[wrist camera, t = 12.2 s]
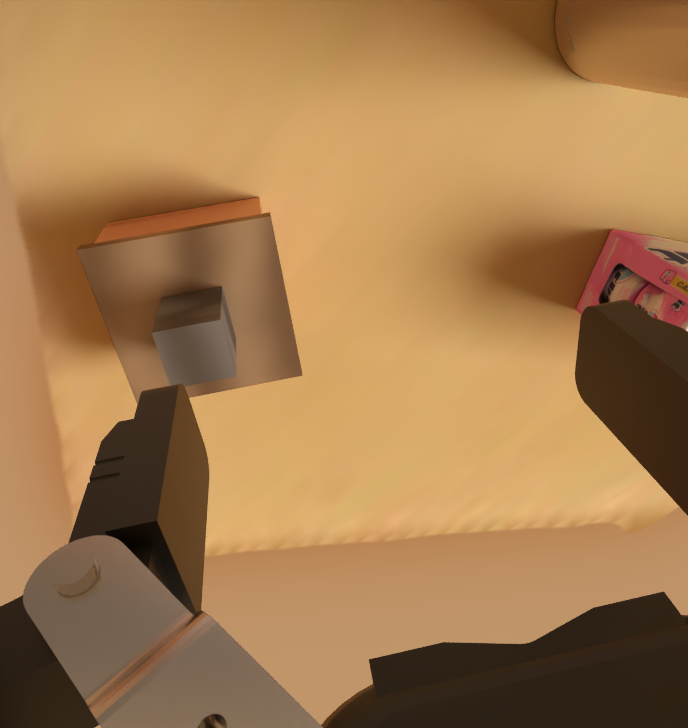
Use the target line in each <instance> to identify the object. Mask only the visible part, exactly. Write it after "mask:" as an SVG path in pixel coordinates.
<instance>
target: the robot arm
mask: <svg viewBox="0 0 688 728" xmlns="http://www.w3.org/2000/svg"><path fill="white" fill-rule="evenodd" d="M555 34H556V39H557V43H558V48H559V50H560V52H561V55H562V57H563V59H564V61H565V62H566V63H567V65H568V66H569V67H570V68H571V70H572V71H573V72H575V73H576V74H578V75H579V76H580V77H582V78H584V79H587V80H590V81H592V82H597V83H603V84H609V85H615V86H621V87H625V88H631V89H637V90H643V91H649V92H655V93H661V94H667V95H672V96H678V97H684V98H688V0H557V7H556V14H555ZM575 379H576V385H577V389H578V391H579V394H580V396H581V398H582V399H583V401H584V402H585V403H586V404H587V406H588V407H589V408H590V409H591V410H592V411H593V412H594V413H595V414H596V415H597V416H598V418H599V419H600V420H601V421H602V422H603V423H604V424H605V425H606V426H607V427H608V429H609V430H610V431H611V432H612V433H613V434H614V435H615V436H616V437H617V438H618V440H619V441H620V442H621V443H622V444H623V445H624V446H625V447H626V448H627V449H628V450H629V452H630V453H631V454H632V455H633V456H634V457H635V458H636V459H637V460H638V461H639V463H640V464H641V465H642V466H643V467H644V468H645V469H646V470H647V471H648V472H649V474H650V475H651V476H652V477H653V478H654V479H655V480H656V481H657V482H658V483H659V484H660V486H661V487H662V488H663V489H664V490H665V491H666V492H667V493H668V494H669V495H670V497H671V498H672V499H673V500H674V501H675V502H676V503H677V504H678V505H679V506H680V508H681V509H682V510H683V511H684V512H685V513H686V514H687V515H688V331H686V330H685V329H683V328H681V327H678V326H676V325H673V324H670V323H667V322H665V321H662V320H659V319H656V318H653V317H651V316H650V315H648V314H647V313H646V312H644V311H643V310H641V309H640V308H639V307H637V306H636V305H634V304H633V303H632V302H630V301H628V300H619V301H614V302H609V303H603V304H598V305H593V306H588V307H586V308H585V309H584V311H583V313H582V316H581V321H580V331H579V340H578V350H577V359H576V369H575ZM95 464H96V465H95V466H93V469H92V472H91V475H90V478H89V479H90V483H88V485H87V488H86V491H85V494H84V497H83V500H82V503H81V506H80V509H79V512H78V516H77V519H76V522H75V525H74V528H73V531H72V534H71V537H70V540H69V543H68V544H66V545H64V546H63V547H61V548H59V549H58V550H56V551H55V552H53V553H52V554H51V555H49V556H48V557H47V558H46V559H45V560H44V561H43V562H42V563H41V564H40V565H39V566H38V567H37V568H36V569H35V571H34V572H33V573H32V575H31V576H30V578H29V580H28V582H27V584H26V586H25V589H24V594H23V595H22V596H21V597H19V598H17V599H15V600H13V601H11V602H9V603H7V604H5V605H3V606H0V728H94V727H96V726H98V725H100V726H101V728H688V615H681V614H680V613H679V611H678V610H677V609H676V607H675V606H674V605H673V604H672V602H671V601H670V599H669V598H668V597H667V596H666V594H665V593H664V592H660V593H656V594H651V595H647V596H643V597H639V598H634V599H630V600H626V601H621V602H617V603H613V604H608V605H604V606H599V607H595V608H593V609H591V610H589V611H587V612H585V613H583V614H582V615H580V616H578V617H576V618H574V619H573V620H571V621H569V622H567V623H565V624H564V625H562V626H560V627H558V628H556V629H555V630H553V631H551V632H549V633H548V634H546V635H544V636H542V637H540V638H539V639H537V640H535V641H533V642H531V643H526V644H491V643H490V644H489V643H446V642H443V643H439V644H435V645H430V646H426V647H422V648H417V649H413V650H408V651H404V652H400V653H396V654H391V655H387V656H382V657H378V658H374V659H369V663H370V668H371V674H372V679H373V684H372V685H370V686H368V687H367V688H365V689H363V690H362V691H360V692H358V693H356V694H355V695H354V696H352V697H351V698H350V699H348V700H347V701H345V702H344V703H343V704H342V705H341V706H339V707H338V708H337V709H336V710H335V711H334V712H333V713H332V714H331V715H330V716H329V717H328V718H327V719H326V720H325V721H324V723H323V724H322V725H320V724H319V723H318V722H317V721H316V720H315V719H314V718H313V717H312V716H311V715H310V714H309V713H308V712H307V711H306V710H305V709H304V708H303V707H302V706H301V705H300V704H299V703H298V702H297V701H296V700H295V699H294V698H293V697H292V696H291V695H290V694H289V693H288V692H287V691H286V690H285V689H284V688H283V687H282V686H281V685H279V684H278V682H277V681H276V680H274V678H273V677H272V676H271V675H270V674H269V673H268V672H267V671H266V670H264V668H263V667H261V665H259V663H258V662H256V661H255V659H253V658H252V656H251V655H250V654H249V653H248V652H246V651H245V650H244V649H243V648H242V647H241V646H240V645H239V644H238V643H237V642H236V641H235V640H234V639H233V638H232V637H231V636H230V635H229V634H228V633H227V632H226V631H225V630H224V629H223V628H222V627H221V626H220V625H219V624H218V623H217V622H216V621H215V620H214V619H213V618H212V617H211V616H210V615H208V614H207V613H205V612H203V611H201V602H202V585H203V569H204V553H205V537H206V521H207V505H208V489H209V465H208V458H207V453H206V449H205V445H204V442H203V439H202V436H201V433H200V430H199V427H198V424H197V421H196V418H195V415H194V412H193V409H192V406H191V403H190V400H189V397H188V394H187V391H186V389H185V387H184V386H183V384H176V385H171V386H165V387H160V388H155V389H150V390H145V391H142V392H141V394H140V398H139V402H138V405H137V409H136V413H135V417H134V419H131V420H126V421H121V422H118V423H117V424H116V425H115V426H114V428H113V429H112V430H111V431H110V432H109V433H108V435H107V436H106V437H105V438H104V439H103V440H102V441H101V444H100V448H99V451H98V454H97V457H96V460H95Z"/></svg>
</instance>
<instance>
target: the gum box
mask: <svg viewBox="0 0 688 728" xmlns="http://www.w3.org/2000/svg"><path fill="white" fill-rule="evenodd" d="M619 300H628V301H630V302H632V303H633V304H634V305H636V306H637V307H639V308H640V309H641V310H643V311H644V312H646V313H647V314H648V315H650V316H651V317H653V318H656V319H659V320H662V321H665V322H667V323H670V324H673V325H676V326H678V327H681V328H683V329H685V330H686V331H688V243H687V242H682V241H676V240H671V239H667V238H662V237H657V236H650V235H643V234H637V233H632V232H626V231H620V230H615V229H612V230H611V232H610V234H609V236H608V238H607V241H606V243H605V245H604V247H603V250H602V252H601V254H600V256H599V258H598V260H597V262H596V264H595V266H594V269H593V271H592V273H591V275H590V278H589V280H588V282H587V285H586V287H585V290H584V292H583V295H582V297H581V299H580V301H579V303H578V306H577V308H576V310H577V311H578V312H579V313H580V314H581V315H582V313H583V311H584V309H585V308H586V307H588V306H593V305H598V304H603V303H609V302H614V301H619Z"/></svg>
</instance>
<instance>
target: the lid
mask: <svg viewBox="0 0 688 728" xmlns="http://www.w3.org/2000/svg"><path fill="white" fill-rule="evenodd" d="M76 251H77V253H78V256H79V258H80V261H81V263H82V266H83V268H84V271H85V273H86V276H87V278H88V281H89V283H90V286H91V288H92V291H93V293H94V296H95V299H96V301H97V304H98V306H99V309H100V311H101V314H102V316H103V319H104V321H105V324H106V326H107V329H108V331H109V334H110V336H111V339H112V341H113V344H114V346H115V349H116V351H117V354H118V356H119V359H120V362H121V364H122V367H123V369H124V372H125V374H126V377H127V379H128V382H129V384H130V387H131V389H132V392H133V394H134V397H135V399H136V402H137V404H138V402H139V398H140V394H141V392H142V391H145V390H150V389H155V388H160V387H165V386H171V385H176V384H183V386H184V387H185V389H186V391H187V394H188V397H189V398H190V397H195V396H200V395H205V394H210V393H216V392H221V391H226V390H231V389H236V388H241V387H246V386H251V385H256V384H261V383H266V382H272V381H277V380H282V379H287V378H292V377H297V376H302V370H301V365H300V360H299V355H298V350H297V345H296V340H295V335H294V330H293V325H292V320H291V315H290V310H289V305H288V300H287V295H286V290H285V285H284V280H283V275H282V270H281V265H280V260H279V255H278V250H277V245H276V240H275V235H274V230H273V225H272V221H271V216H270V213H264V214H259V215H253V216H247V217H242V218H236V219H230V220H224V221H219V222H213V223H207V224H202V225H196V226H190V227H185V228H179V229H173V230H168V231H162V232H156V233H151V234H145V235H139V236H134V237H128V238H122V239H117V240H111V241H105V242H100V243H94V244H88V245H83V246H79V247H78V249H77V250H76Z"/></svg>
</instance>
